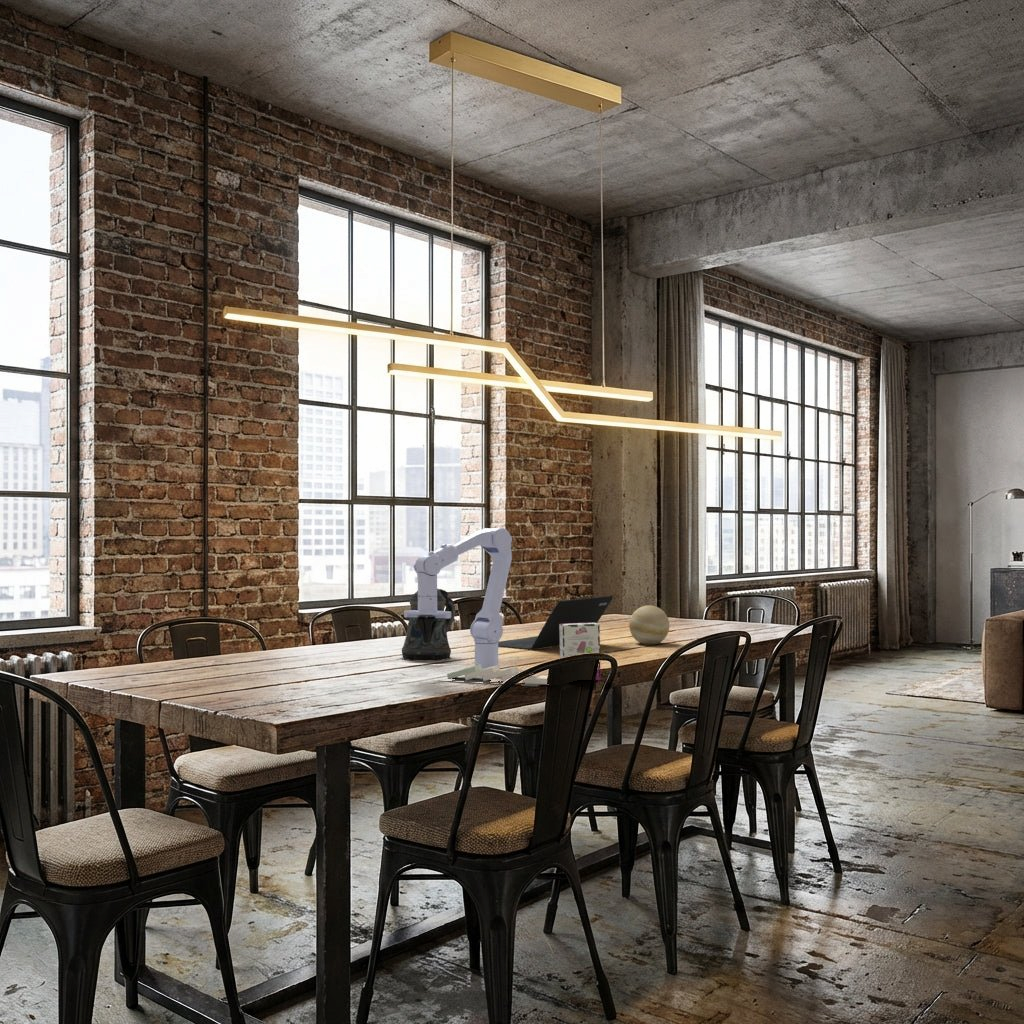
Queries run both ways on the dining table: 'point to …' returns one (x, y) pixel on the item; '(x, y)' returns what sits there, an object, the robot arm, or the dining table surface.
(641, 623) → the decorative ball
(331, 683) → the dining table surface
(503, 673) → the domino
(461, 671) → the sage domino
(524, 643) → the laptop
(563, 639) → the candy bar box
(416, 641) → the beer stein
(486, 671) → the domino
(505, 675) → the domino
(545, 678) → the domino
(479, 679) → the mat
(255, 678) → the dining table surface
